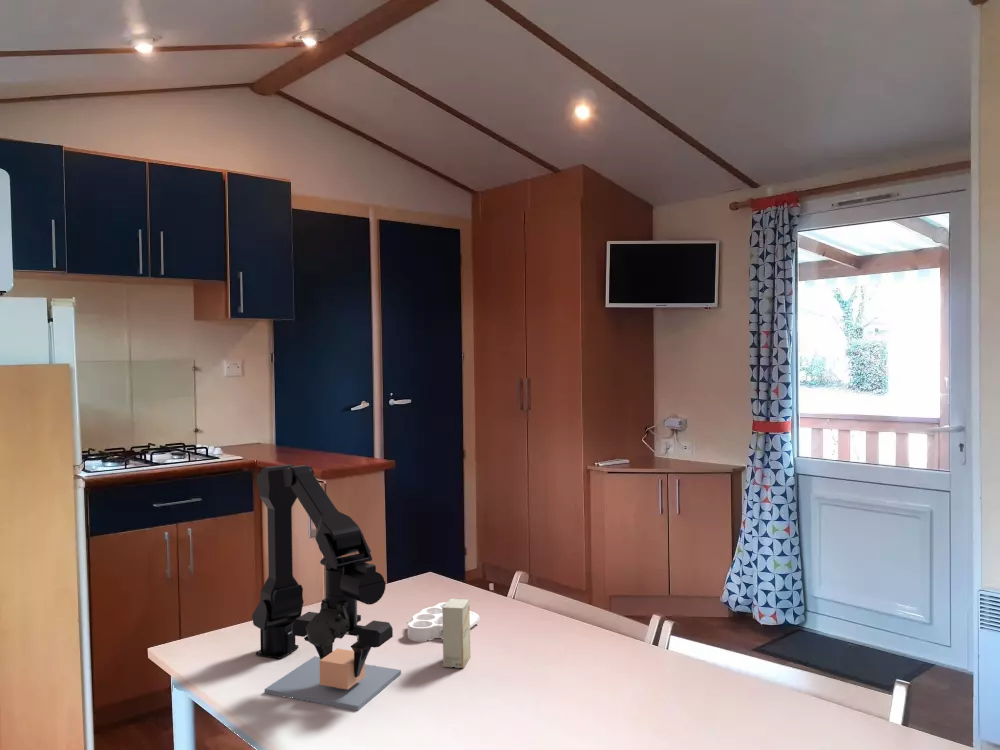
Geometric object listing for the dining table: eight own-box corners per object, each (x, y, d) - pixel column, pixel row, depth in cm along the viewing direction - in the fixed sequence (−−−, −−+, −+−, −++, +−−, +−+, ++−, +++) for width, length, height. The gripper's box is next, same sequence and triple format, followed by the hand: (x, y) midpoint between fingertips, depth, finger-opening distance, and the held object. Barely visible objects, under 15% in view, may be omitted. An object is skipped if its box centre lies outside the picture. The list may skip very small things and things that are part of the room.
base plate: (264, 693, 138) (264, 673, 138) (314, 660, 153) (314, 641, 153) (358, 710, 131) (357, 689, 131) (401, 674, 146) (400, 654, 146)
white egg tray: (451, 649, 160) (392, 639, 165) (485, 621, 176) (431, 613, 182) (450, 633, 160) (392, 624, 165) (485, 607, 176) (431, 599, 182)
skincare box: (463, 669, 148) (463, 608, 148) (442, 667, 149) (441, 607, 149) (471, 656, 154) (470, 598, 154) (450, 655, 155) (449, 597, 155)
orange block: (319, 684, 138) (319, 660, 137) (337, 671, 143) (337, 648, 143) (347, 689, 135) (347, 665, 135) (364, 676, 141) (364, 652, 141)
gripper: (272, 599, 134) (273, 684, 135) (362, 611, 128) (363, 700, 128) (308, 581, 145) (309, 660, 145) (393, 591, 138) (394, 674, 139)
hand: (342, 674), depth 139 cm, fingers closed on orange block, 6 cm apart
